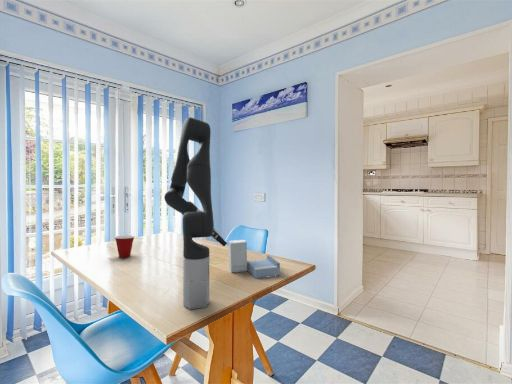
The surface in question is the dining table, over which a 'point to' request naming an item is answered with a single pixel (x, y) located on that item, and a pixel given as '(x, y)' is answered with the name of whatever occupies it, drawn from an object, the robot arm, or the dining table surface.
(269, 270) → the tray
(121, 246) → the plastic cup
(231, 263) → the skincare box
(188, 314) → the dining table surface
